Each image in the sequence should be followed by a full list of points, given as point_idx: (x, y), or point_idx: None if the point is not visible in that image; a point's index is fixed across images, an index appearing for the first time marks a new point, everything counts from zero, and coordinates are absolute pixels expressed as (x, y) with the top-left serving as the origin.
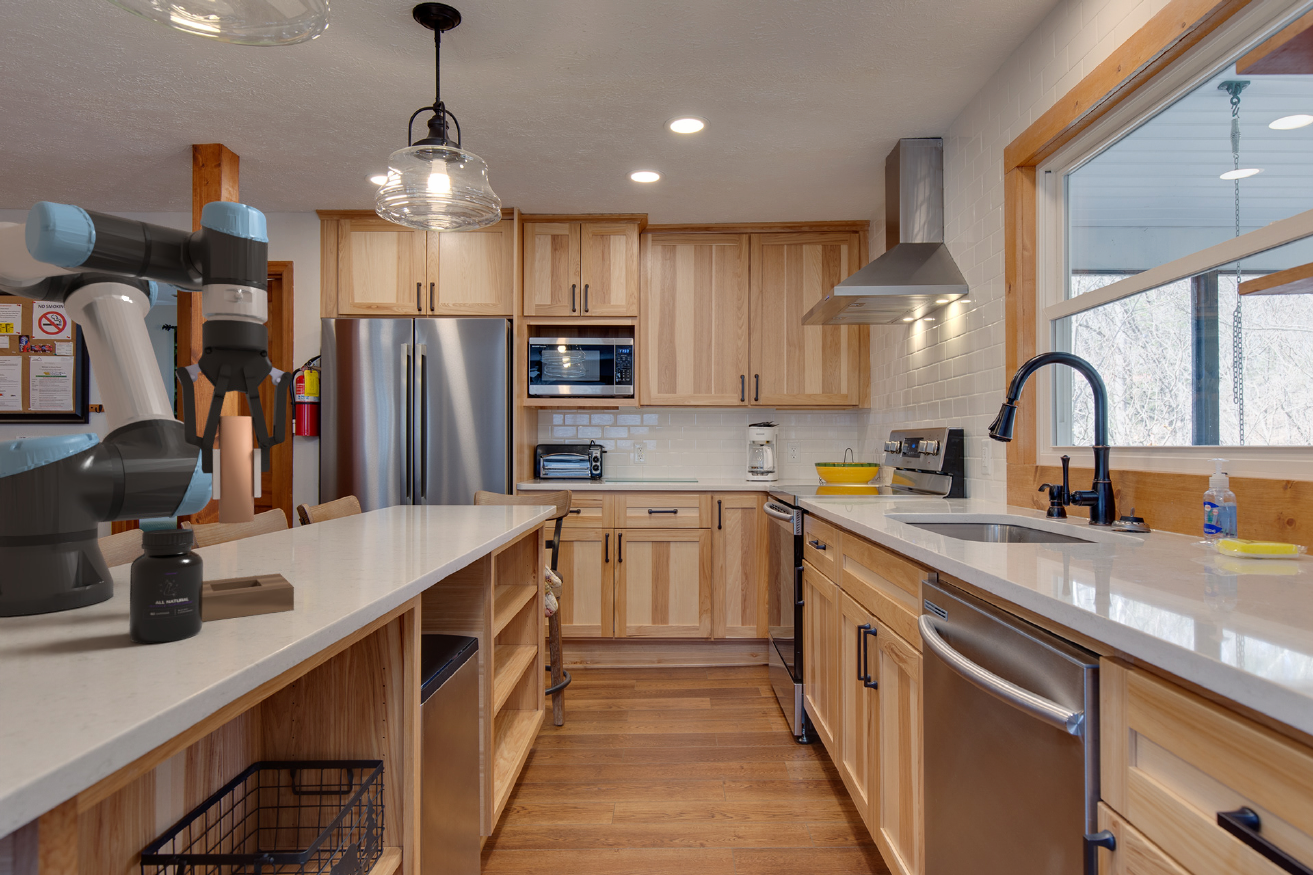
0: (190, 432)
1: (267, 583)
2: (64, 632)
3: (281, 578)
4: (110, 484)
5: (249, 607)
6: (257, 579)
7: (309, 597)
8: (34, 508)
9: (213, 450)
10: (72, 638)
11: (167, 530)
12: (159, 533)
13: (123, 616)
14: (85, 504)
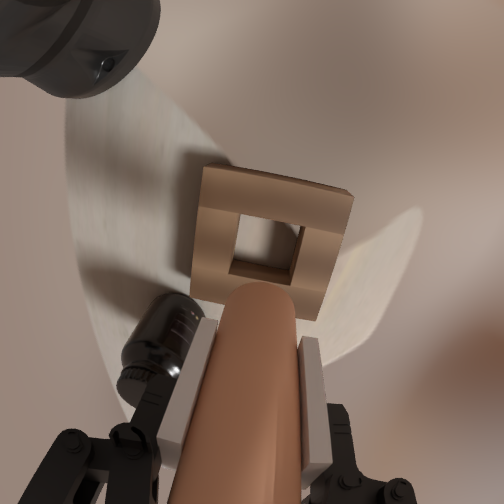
0: (83, 487)
1: (303, 273)
2: (100, 223)
3: (335, 247)
4: (22, 7)
5: None
6: (306, 227)
7: (361, 247)
8: None
9: (164, 464)
10: (109, 258)
11: (140, 392)
12: (135, 407)
13: (147, 180)
14: (23, 32)
